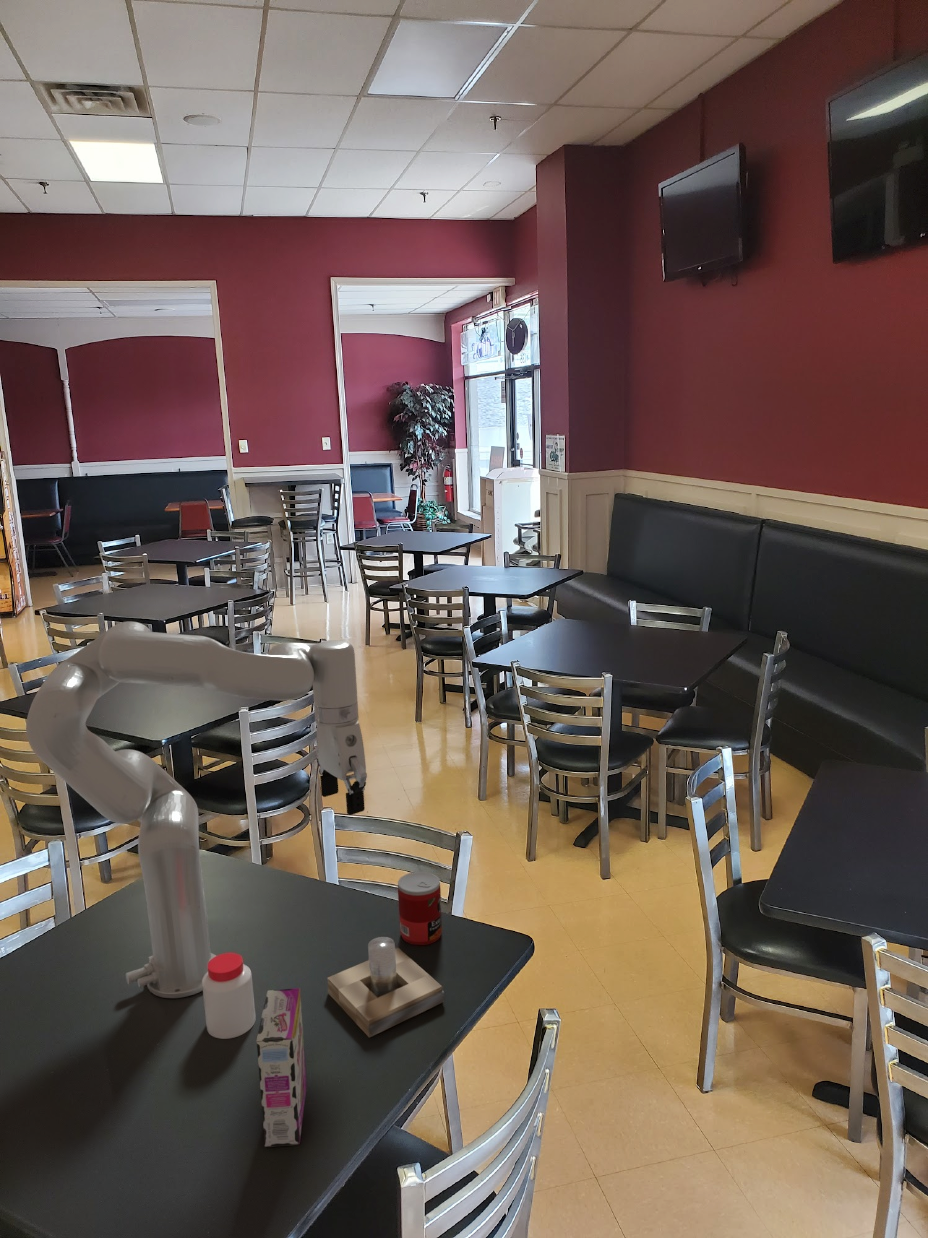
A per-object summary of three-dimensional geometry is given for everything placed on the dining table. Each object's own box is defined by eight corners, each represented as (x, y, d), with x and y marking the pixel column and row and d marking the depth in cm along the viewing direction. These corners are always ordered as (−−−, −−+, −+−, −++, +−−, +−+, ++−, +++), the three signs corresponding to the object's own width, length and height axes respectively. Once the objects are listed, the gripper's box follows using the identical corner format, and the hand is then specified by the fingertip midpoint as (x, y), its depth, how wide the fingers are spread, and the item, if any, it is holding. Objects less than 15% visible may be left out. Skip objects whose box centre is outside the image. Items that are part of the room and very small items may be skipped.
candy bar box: (302, 1146, 118) (293, 1039, 114) (264, 1149, 118) (254, 1042, 114) (309, 1085, 129) (301, 986, 125) (274, 1088, 128) (265, 988, 125)
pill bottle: (212, 1045, 138) (205, 983, 135) (202, 1017, 145) (195, 957, 142) (261, 1029, 141) (255, 968, 139) (249, 1002, 148) (243, 943, 146)
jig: (371, 1039, 138) (370, 1023, 137) (328, 993, 150) (327, 977, 149) (444, 1004, 146) (444, 988, 145) (398, 962, 157) (398, 947, 157)
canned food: (437, 948, 161) (435, 893, 159) (395, 944, 163) (392, 890, 161) (446, 925, 169) (444, 872, 166) (406, 921, 170) (403, 870, 168)
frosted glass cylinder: (379, 1009, 145) (376, 955, 143) (366, 996, 148) (363, 943, 146) (402, 999, 147) (399, 945, 145) (389, 986, 151) (386, 934, 149)
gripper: (380, 719, 148) (385, 814, 152) (332, 696, 162) (338, 783, 166) (340, 729, 144) (347, 826, 148) (295, 704, 158) (302, 793, 162)
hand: (342, 803), depth 157 cm, fingers open, 9 cm apart
